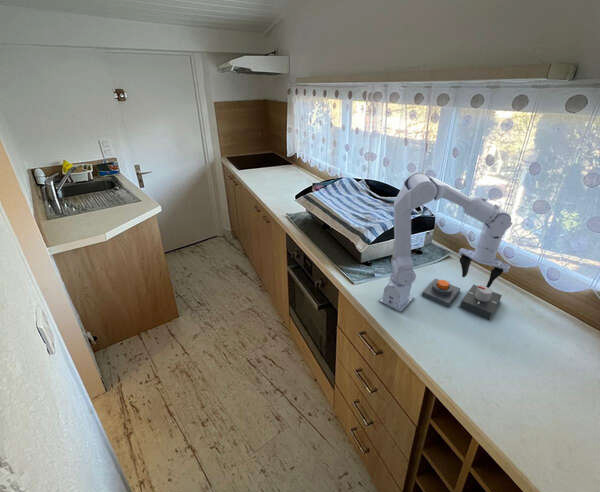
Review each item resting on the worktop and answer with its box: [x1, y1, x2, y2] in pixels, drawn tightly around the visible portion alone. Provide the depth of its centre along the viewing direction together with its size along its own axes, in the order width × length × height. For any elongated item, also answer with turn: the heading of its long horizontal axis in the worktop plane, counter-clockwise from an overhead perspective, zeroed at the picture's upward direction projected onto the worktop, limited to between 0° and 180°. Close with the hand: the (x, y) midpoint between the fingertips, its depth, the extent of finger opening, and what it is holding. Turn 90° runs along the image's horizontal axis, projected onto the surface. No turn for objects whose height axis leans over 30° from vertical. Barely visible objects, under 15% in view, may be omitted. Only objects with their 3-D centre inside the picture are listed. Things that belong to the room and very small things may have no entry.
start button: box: [437, 279, 450, 290], centre depth 107 cm, size 4×4×2 cm
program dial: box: [475, 284, 494, 302], centre depth 101 cm, size 4×4×4 cm
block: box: [421, 277, 461, 308], centre depth 108 cm, size 11×9×4 cm
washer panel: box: [459, 284, 502, 321], centre depth 103 cm, size 12×9×3 cm
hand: (476, 280), depth 101 cm, fingers open, 7 cm apart
